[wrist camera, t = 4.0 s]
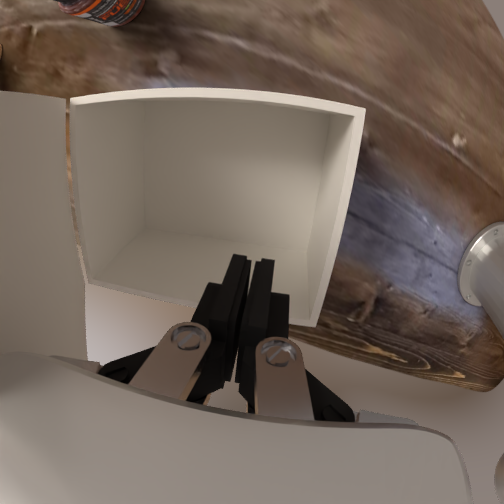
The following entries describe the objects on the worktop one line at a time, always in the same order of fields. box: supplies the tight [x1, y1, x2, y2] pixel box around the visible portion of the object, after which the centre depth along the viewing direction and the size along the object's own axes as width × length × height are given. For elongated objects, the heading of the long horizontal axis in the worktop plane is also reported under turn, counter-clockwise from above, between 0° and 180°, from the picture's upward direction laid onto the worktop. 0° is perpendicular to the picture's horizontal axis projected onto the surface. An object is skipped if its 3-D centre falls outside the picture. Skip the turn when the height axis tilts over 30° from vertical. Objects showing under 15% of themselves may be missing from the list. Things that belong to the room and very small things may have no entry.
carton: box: [70, 88, 366, 327], centre depth 24 cm, size 20×16×12 cm
